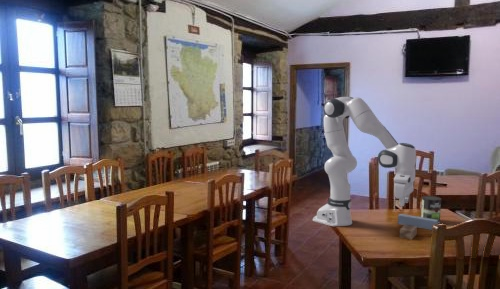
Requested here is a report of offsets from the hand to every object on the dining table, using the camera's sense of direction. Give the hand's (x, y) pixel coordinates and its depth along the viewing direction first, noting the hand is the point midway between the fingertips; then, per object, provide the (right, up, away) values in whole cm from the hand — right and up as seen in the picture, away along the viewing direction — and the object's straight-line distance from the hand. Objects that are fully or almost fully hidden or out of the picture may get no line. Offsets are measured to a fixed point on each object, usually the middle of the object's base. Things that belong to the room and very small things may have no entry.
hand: (404, 204), depth 196 cm
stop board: (+18, -16, +26) cm, 36 cm away
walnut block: (+6, -18, +11) cm, 22 cm away
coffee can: (+29, -16, +35) cm, 48 cm away
